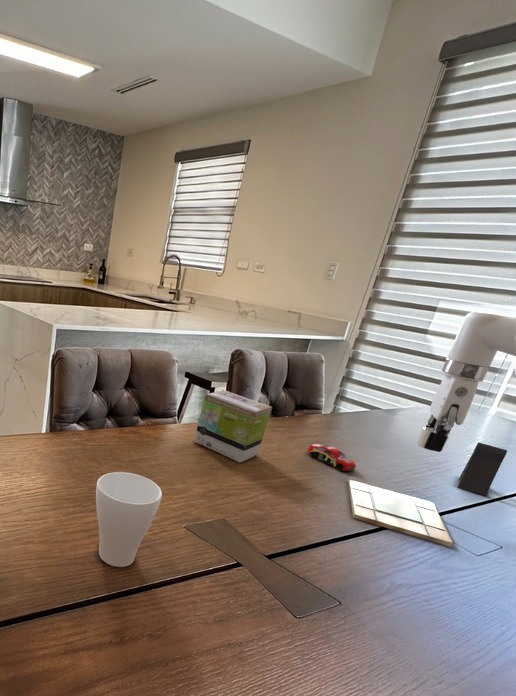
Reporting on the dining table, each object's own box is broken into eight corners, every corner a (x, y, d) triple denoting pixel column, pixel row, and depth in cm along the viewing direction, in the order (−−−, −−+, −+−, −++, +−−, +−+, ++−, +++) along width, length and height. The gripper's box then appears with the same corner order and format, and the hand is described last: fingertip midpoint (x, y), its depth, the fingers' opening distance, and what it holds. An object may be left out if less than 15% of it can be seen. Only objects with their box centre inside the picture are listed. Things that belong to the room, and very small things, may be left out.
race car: (358, 472, 127) (363, 459, 126) (345, 474, 125) (351, 461, 123) (316, 451, 138) (320, 439, 136) (303, 453, 135) (308, 440, 134)
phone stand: (459, 478, 132) (478, 438, 127) (486, 486, 128) (507, 446, 124) (456, 487, 125) (477, 446, 121) (485, 496, 122) (507, 455, 117)
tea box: (192, 442, 133) (204, 393, 127) (210, 436, 139) (223, 388, 134) (240, 463, 123) (256, 411, 117) (258, 455, 130) (273, 405, 124)
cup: (155, 575, 77) (172, 505, 71) (93, 577, 75) (105, 504, 69) (136, 537, 86) (150, 472, 81) (80, 537, 84) (90, 471, 79)
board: (431, 506, 113) (433, 501, 112) (451, 547, 96) (454, 542, 96) (348, 483, 120) (349, 479, 119) (353, 518, 103) (355, 513, 102)
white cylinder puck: (439, 446, 111) (447, 431, 109) (444, 453, 107) (451, 437, 105) (415, 440, 113) (421, 425, 111) (418, 447, 109) (425, 431, 107)
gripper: (497, 382, 94) (457, 463, 101) (474, 367, 108) (441, 439, 115) (452, 373, 97) (416, 453, 104) (436, 360, 111) (406, 431, 118)
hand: (430, 445), depth 110 cm, fingers closed on white cylinder puck, 5 cm apart
